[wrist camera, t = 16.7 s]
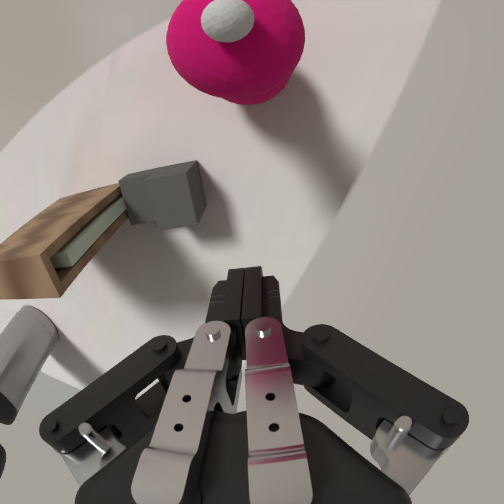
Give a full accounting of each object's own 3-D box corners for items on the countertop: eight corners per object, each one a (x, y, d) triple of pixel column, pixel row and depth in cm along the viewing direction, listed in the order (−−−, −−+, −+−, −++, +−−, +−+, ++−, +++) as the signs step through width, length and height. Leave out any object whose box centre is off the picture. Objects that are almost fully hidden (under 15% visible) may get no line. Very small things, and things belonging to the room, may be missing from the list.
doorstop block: (139, 215, 32) (122, 235, 28) (128, 174, 30) (107, 188, 26) (206, 205, 32) (197, 224, 27) (197, 160, 29) (185, 172, 25)
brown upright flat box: (68, 224, 33) (-8, 299, 19) (59, 198, 31) (-25, 266, 17) (133, 211, 32) (60, 297, 18) (125, 181, 30) (39, 254, 16)
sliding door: (53, 221, 32) (-8, 275, 21) (50, 212, 31) (-13, 265, 20) (131, 204, 30) (72, 266, 20) (128, 194, 30) (66, 252, 19)
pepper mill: (298, 49, 23) (368, -28, 6) (271, 114, 26) (293, 150, 9) (226, 25, 22) (165, -78, 5) (200, 90, 25) (92, 92, 8)
